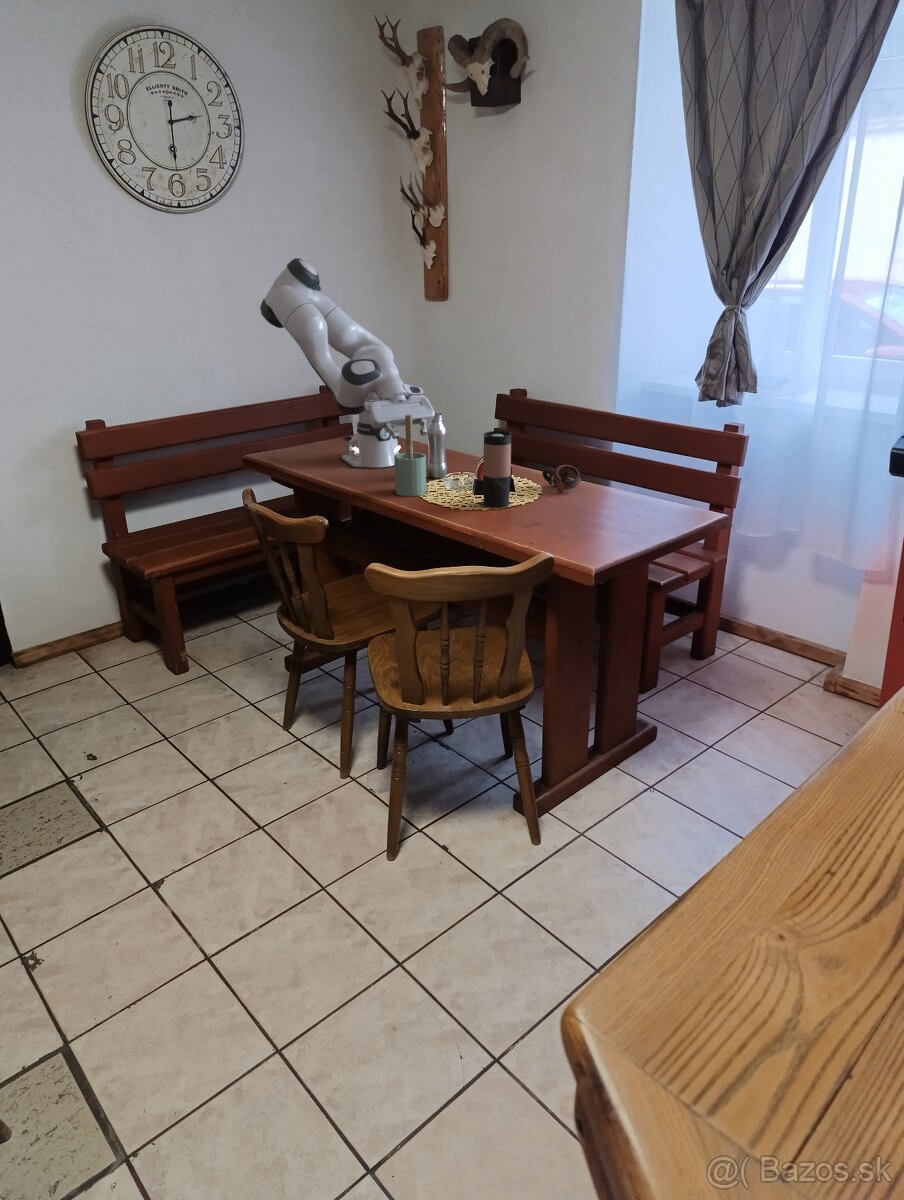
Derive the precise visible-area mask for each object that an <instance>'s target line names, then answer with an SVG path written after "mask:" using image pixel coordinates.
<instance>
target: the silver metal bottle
mask: <svg viewBox="0 0 904 1200" xmlns="http://www.w3.org/2000/svg"><path fill="white" fill-rule="evenodd" d="M426 429H427V434H426V438H427V445H428V459H427V460H428V462H427V465H426V473H427V475H428V477H430V478H432V479H441V478H445V477H446V476H447V474H448V464H447V458H446V443H447V435H448V434H447V433H448V431H447V428H446V426H445V424H444V423H443V414H442V413H440V412H435V415H434V418H433V419H432V421H431V422H430V423H429V425H428V426H427V427H426Z"/></svg>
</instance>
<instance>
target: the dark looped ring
mask: <svg viewBox="0 0 904 1200" xmlns="http://www.w3.org/2000/svg"><path fill="white" fill-rule="evenodd" d="M572 472H574V473H575V475H576V477H575V478H573V479H572V478H570V477H568V476H569V474H571V473H572ZM541 474H542V477H543V479H544V480H545V481H546V482H547V483H548V485H549V486H552V485H553V487H556V486H557V488H556V491H557V492H558V493H560V494H562V493H563V492H564V491H567V490H570V489H573V488H576V487H577V486H578V485H579V484H580V483H581V482H582V479H581V477H580V476H581V473H580V470H579V469H578V468H577V467H575V466H573V465H570V464H562V465H559V466H558V467H556V469H553V468H551V467H546V468H544V469H543V471H542V472H541Z"/></svg>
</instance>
